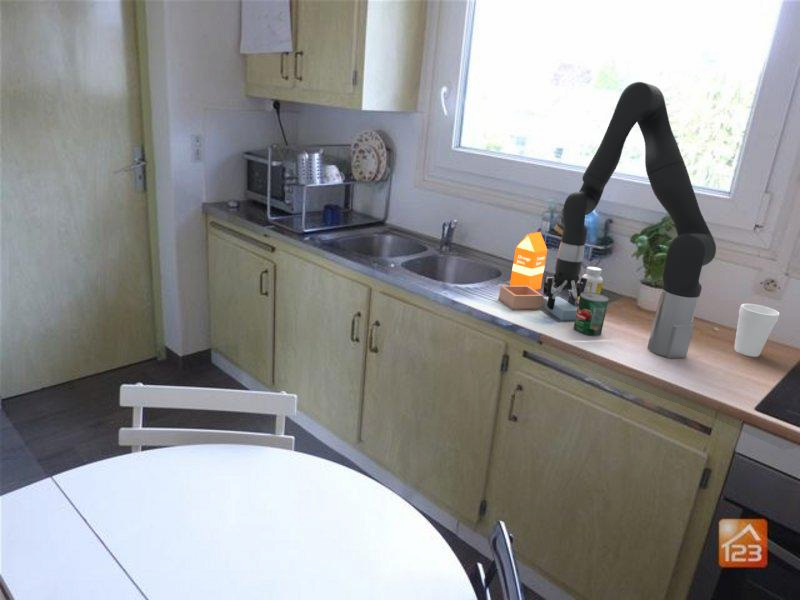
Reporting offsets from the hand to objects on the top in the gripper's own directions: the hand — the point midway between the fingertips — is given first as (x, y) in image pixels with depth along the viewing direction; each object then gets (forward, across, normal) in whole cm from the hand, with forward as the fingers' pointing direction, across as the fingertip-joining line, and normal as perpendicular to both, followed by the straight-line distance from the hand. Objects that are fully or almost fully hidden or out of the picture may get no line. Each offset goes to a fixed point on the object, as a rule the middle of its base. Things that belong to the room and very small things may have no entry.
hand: (560, 308), depth 178 cm
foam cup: (+2, +41, -33) cm, 53 cm away
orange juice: (+2, +2, +26) cm, 26 cm away
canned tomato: (+2, 0, -15) cm, 15 cm away
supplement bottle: (+2, +15, +7) cm, 17 cm away
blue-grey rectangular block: (+1, 0, 0) cm, 1 cm away
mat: (+2, 0, 0) cm, 2 cm away
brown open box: (+2, -10, +8) cm, 13 cm away
